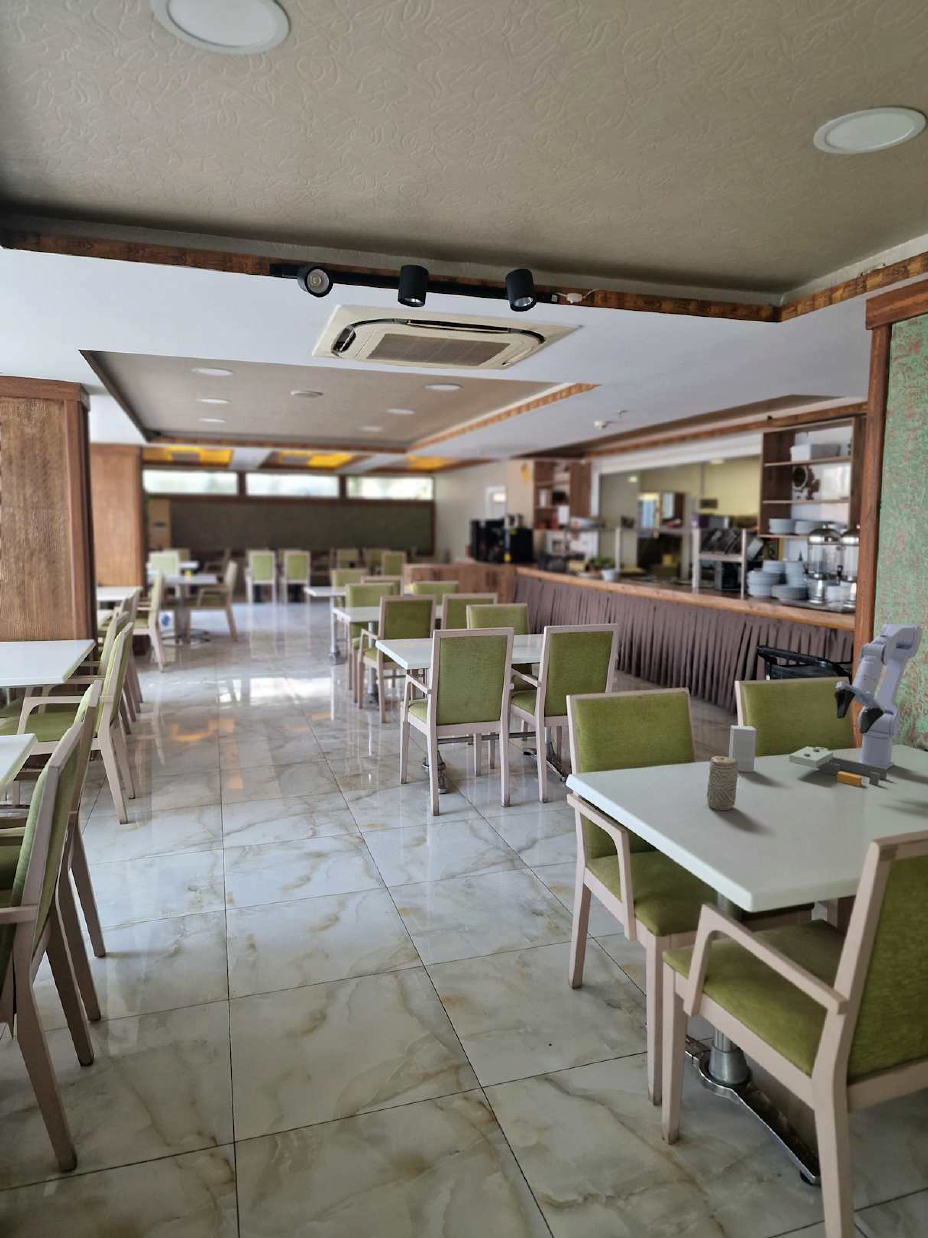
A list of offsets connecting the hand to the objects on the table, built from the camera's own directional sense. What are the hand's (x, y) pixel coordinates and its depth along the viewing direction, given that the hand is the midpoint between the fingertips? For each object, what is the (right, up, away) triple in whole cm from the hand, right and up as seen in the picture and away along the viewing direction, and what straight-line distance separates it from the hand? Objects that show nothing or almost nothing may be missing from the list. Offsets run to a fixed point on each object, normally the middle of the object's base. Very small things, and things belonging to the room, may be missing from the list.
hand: (851, 725), depth 203 cm
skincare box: (-26, -14, +11) cm, 31 cm away
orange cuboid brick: (+1, -16, +3) cm, 16 cm away
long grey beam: (+5, -15, +9) cm, 18 cm away
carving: (-41, -17, -20) cm, 49 cm away
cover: (-6, -14, +11) cm, 19 cm away
